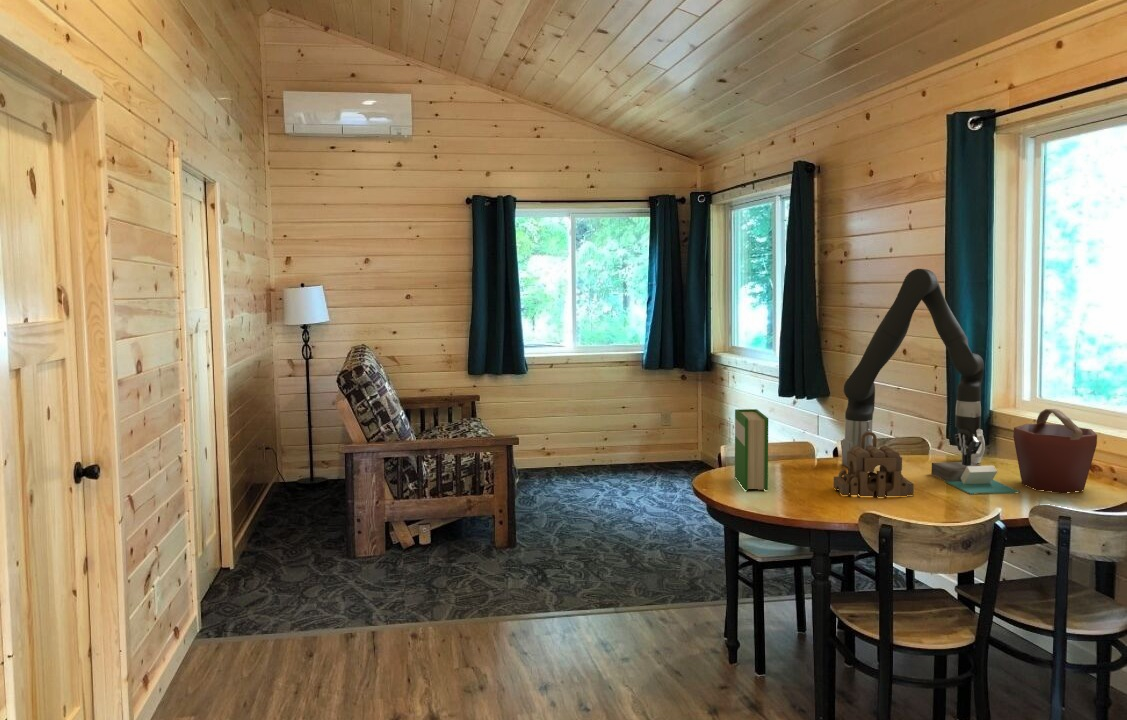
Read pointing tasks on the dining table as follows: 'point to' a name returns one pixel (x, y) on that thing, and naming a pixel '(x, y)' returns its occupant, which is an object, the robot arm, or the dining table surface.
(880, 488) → the wooden puzzle
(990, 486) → the mat
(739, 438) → the hardback book
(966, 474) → the tile
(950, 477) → the block
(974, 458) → the mug
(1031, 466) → the bucket
